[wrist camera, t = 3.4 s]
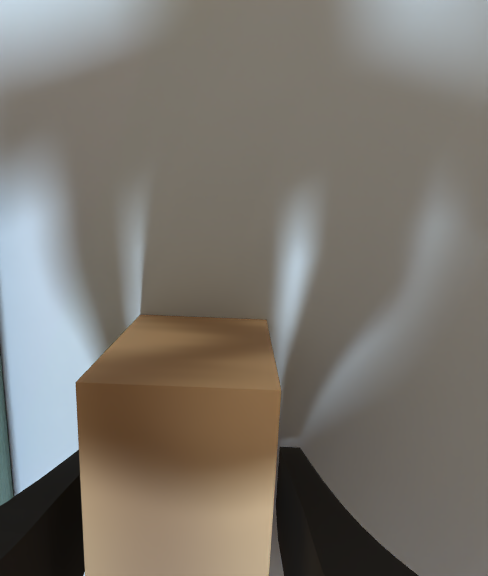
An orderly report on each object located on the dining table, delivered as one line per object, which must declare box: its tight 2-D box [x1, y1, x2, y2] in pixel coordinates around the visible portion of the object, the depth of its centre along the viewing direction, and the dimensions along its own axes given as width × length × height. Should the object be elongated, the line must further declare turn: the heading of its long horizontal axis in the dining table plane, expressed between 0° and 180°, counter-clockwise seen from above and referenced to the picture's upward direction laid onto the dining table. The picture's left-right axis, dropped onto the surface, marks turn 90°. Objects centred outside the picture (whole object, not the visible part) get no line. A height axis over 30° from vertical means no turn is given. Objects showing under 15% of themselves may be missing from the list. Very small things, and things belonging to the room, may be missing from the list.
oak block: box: [76, 315, 281, 576], centre depth 11 cm, size 4×9×5 cm, turn 178°
